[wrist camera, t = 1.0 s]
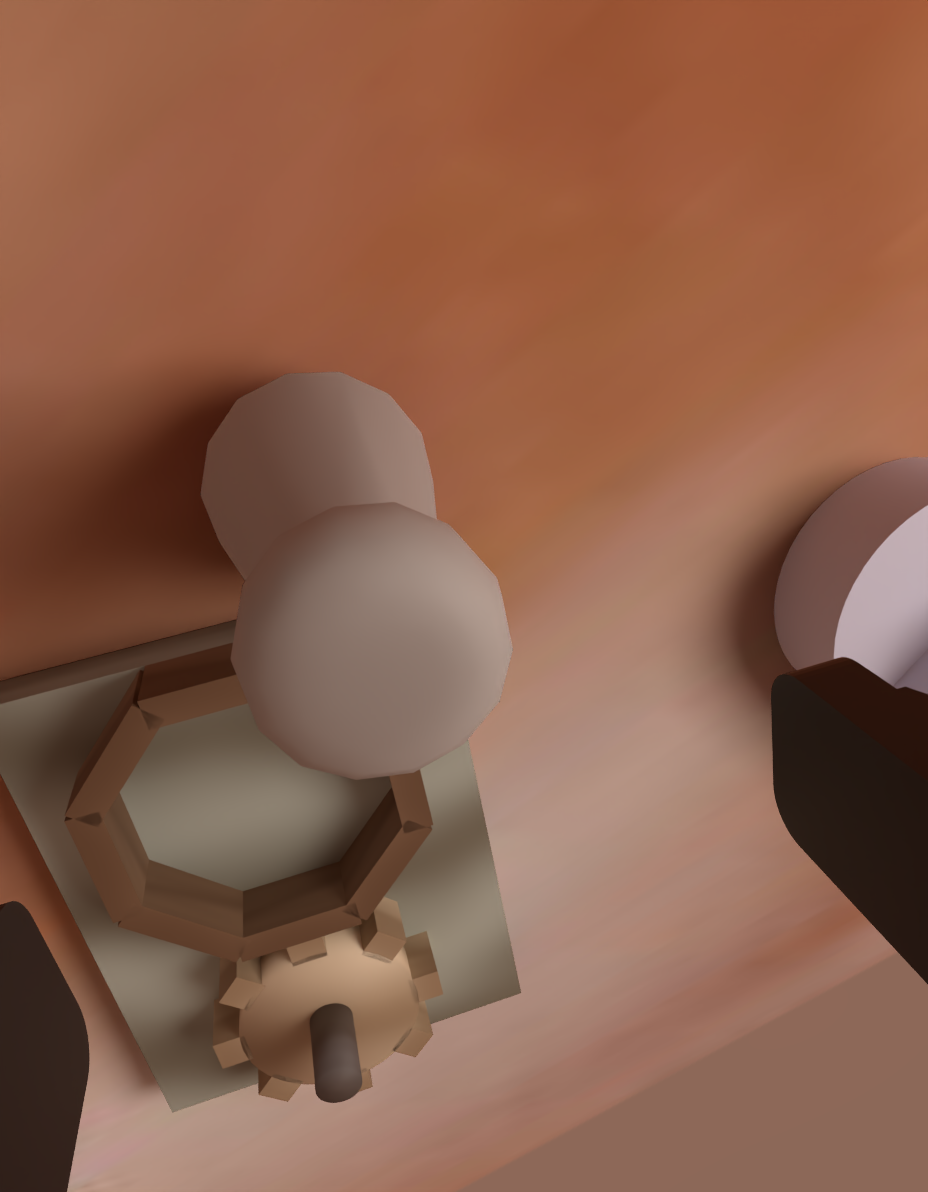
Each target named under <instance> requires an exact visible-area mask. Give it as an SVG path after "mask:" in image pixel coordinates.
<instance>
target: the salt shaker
mask: <svg viewBox="0 0 928 1192" xmlns="http://www.w3.org/2000/svg"><path fill="white" fill-rule="evenodd" d="M200 495H201V498H202V500H203V503H204V505H205V508H206V510H207V513H208V515H209V518H210V520H211V523H212V525H213V528H214V530H215V533H216V535H217V538H218V540H219V542H220V544H221V545H222V547H223V548H224V550H225V551H226V553H227V554H228V556H229V557H230V559H231V560H232V562H233V563H234V565H235V566H236V568H237V569H238V571H239V572H240V574H241V575H242V577H243V578H244V580H245V582H244V584H243V585H242V591H241V597H240V602H239V609H238V615H237V621H236V628H235V634H234V640H233V646H232V653H231V662H232V665H233V667H234V670H235V672H236V675H237V677H238V680H239V682H240V685H241V687H242V690H243V692H244V694H245V697H246V699H247V702H248V704H249V707H250V709H251V712H252V714H253V717H254V719H255V722H256V724H257V726H258V729H259V731H261V732H262V733H263V734H264V735H265V736H266V737H268V738H269V739H270V740H271V741H272V742H273V743H274V744H276V745H277V746H278V747H279V748H280V749H281V750H283V751H284V752H285V753H286V754H287V755H288V756H290V757H291V758H292V759H293V760H294V761H295V762H297V763H298V764H299V765H300V766H302V767H306V768H310V769H314V770H318V771H322V772H326V773H330V774H334V775H338V776H342V777H346V778H350V779H354V780H360V779H367V778H375V777H383V776H391V775H399V774H407V773H414V772H416V771H417V770H419V769H421V768H423V767H425V766H426V765H428V764H430V763H432V762H433V761H435V760H437V759H439V758H440V757H442V756H444V755H446V754H448V753H449V752H451V751H453V750H455V749H456V748H458V747H460V746H462V745H463V744H464V743H465V742H466V741H467V740H468V739H469V737H470V736H471V735H472V734H473V733H474V731H475V730H476V729H477V728H478V727H479V725H480V724H481V723H482V722H483V721H484V719H485V718H486V717H487V716H488V715H489V714H490V712H491V711H492V710H493V709H494V708H495V706H496V705H497V704H498V703H499V702H500V698H501V694H502V690H503V686H504V682H505V678H506V674H507V670H508V667H509V663H510V659H511V655H512V651H513V648H512V643H511V638H510V633H509V628H508V623H507V618H506V614H505V609H504V604H503V599H502V595H501V591H500V587H499V584H498V580H497V577H496V576H495V575H494V574H493V573H492V572H491V571H490V570H489V568H488V567H487V566H486V565H485V564H484V563H483V562H482V561H481V559H480V558H479V557H478V556H477V555H476V554H475V553H474V552H473V551H472V549H471V548H470V547H469V546H468V545H467V544H466V543H465V542H464V540H463V539H462V538H461V537H460V536H459V535H458V534H457V533H456V532H455V531H454V529H453V528H452V527H451V526H450V525H449V524H447V523H444V522H442V521H440V520H437V517H436V507H435V497H434V487H433V479H432V475H431V471H430V466H429V462H428V458H427V454H426V450H425V445H424V441H423V437H422V433H421V432H420V431H419V430H418V428H417V427H416V426H415V425H414V424H413V422H412V421H411V420H410V419H409V418H408V416H407V415H406V414H405V413H404V412H403V410H402V409H401V408H400V407H399V406H398V404H397V403H396V402H395V401H394V400H393V398H392V397H391V396H390V395H389V394H388V393H385V392H383V391H381V390H379V389H377V388H374V387H372V386H370V385H368V384H366V383H363V382H361V381H359V380H357V379H355V378H352V377H350V376H348V375H346V374H344V373H342V372H321V373H294V374H285V375H283V376H281V377H279V378H277V379H275V380H274V381H272V382H270V383H268V384H266V385H264V386H262V387H260V388H258V389H256V390H254V391H252V392H250V393H248V394H246V395H244V396H243V397H241V398H239V399H237V400H236V402H235V403H234V405H233V406H232V408H231V409H230V411H229V412H228V414H227V415H226V417H225V418H224V420H223V421H222V423H221V424H220V426H219V427H218V429H217V430H216V432H215V433H214V435H213V436H212V438H211V439H210V441H209V442H208V446H207V453H206V460H205V467H204V474H203V481H202V487H201V494H200Z"/></svg>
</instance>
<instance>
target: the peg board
mask: <svg viewBox="0 0 928 1192" xmlns="http://www.w3.org/2000/svg"><path fill="white" fill-rule="evenodd" d="M236 621H237V620H234V621H230V622H226V623H222V624H219V625H215V626H211V627H207V628H203V629H199V630H196V631H192V632H188V633H184V634H180V635H176V636H173V637H169V638H165V639H161V640H157V641H153V642H150V643H146V644H142V645H138V646H134V647H130V648H127V649H123V650H119V651H115V652H111V653H107V654H104V655H100V656H96V657H92V658H88V659H85V660H81V661H77V662H73V663H69V664H65V665H62V666H58V667H54V668H50V669H46V670H42V671H39V672H35V673H31V674H27V675H23V676H19V677H16V678H12V679H8V680H4V681H0V774H1V776H2V778H3V780H4V782H5V784H6V786H7V788H8V790H9V792H10V794H11V796H12V798H13V800H14V802H15V804H16V806H17V808H18V809H19V811H20V813H21V815H22V817H23V819H24V821H25V823H26V825H27V827H28V829H29V831H30V833H31V835H32V837H33V839H34V841H35V843H36V845H37V847H38V849H39V851H40V853H41V855H42V857H43V859H44V861H45V863H46V865H47V867H48V869H49V870H50V872H51V874H52V876H53V878H54V880H55V882H56V884H57V886H58V888H59V890H60V892H61V894H62V896H63V898H64V900H65V902H66V904H67V906H68V908H69V910H70V912H71V914H72V916H73V918H74V920H75V922H76V924H77V926H78V928H79V929H80V931H81V933H82V935H83V937H84V939H85V941H86V943H87V945H88V947H89V949H90V951H91V953H92V955H93V957H94V959H95V961H96V963H97V965H98V967H99V969H100V971H101V973H102V975H103V977H104V979H105V981H106V983H107V985H108V987H109V988H110V990H111V992H112V994H113V996H114V998H115V1000H116V1002H117V1004H118V1006H119V1008H120V1010H121V1012H122V1014H123V1016H124V1018H125V1020H126V1022H127V1024H128V1026H129V1028H130V1030H131V1032H132V1034H133V1036H134V1038H135V1040H136V1042H137V1044H138V1046H139V1047H140V1049H141V1051H142V1053H143V1055H144V1057H145V1059H146V1061H147V1063H148V1065H149V1067H150V1069H151V1071H152V1073H153V1075H154V1077H155V1079H156V1081H157V1083H158V1085H159V1087H160V1089H161V1091H162V1093H163V1095H164V1097H165V1099H166V1101H167V1103H168V1105H169V1107H170V1108H171V1110H172V1112H175V1111H178V1110H181V1109H184V1108H187V1107H190V1106H193V1105H196V1104H199V1103H202V1102H205V1101H207V1100H210V1099H213V1098H216V1097H219V1096H222V1095H225V1094H228V1093H231V1092H234V1091H237V1090H240V1089H242V1088H245V1087H248V1086H251V1085H254V1084H257V1083H258V1088H259V1095H262V1096H266V1097H270V1098H275V1099H279V1100H283V1101H287V1102H288V1101H289V1100H290V1098H291V1097H292V1095H293V1094H294V1093H295V1091H296V1090H297V1089H298V1087H299V1086H300V1085H301V1084H315V1090H316V1094H317V1096H318V1097H319V1098H320V1099H321V1100H323V1101H325V1102H330V1103H337V1102H342V1101H345V1100H348V1099H350V1098H351V1097H353V1096H354V1095H355V1094H356V1093H357V1092H359V1091H362V1090H365V1089H368V1088H371V1087H373V1086H372V1079H371V1073H370V1069H371V1068H373V1067H375V1066H376V1065H378V1064H380V1063H381V1062H383V1061H384V1060H385V1059H387V1058H388V1057H389V1056H390V1055H392V1054H393V1053H394V1052H399V1053H402V1054H406V1055H409V1056H413V1057H416V1056H417V1055H418V1053H419V1052H420V1051H421V1050H422V1048H423V1047H424V1046H425V1044H426V1043H427V1042H428V1041H429V1039H430V1038H431V1037H432V1035H433V1032H432V1028H431V1024H432V1023H435V1022H438V1021H441V1020H444V1019H447V1018H450V1017H452V1016H455V1015H458V1014H461V1013H464V1012H467V1011H470V1010H473V1009H476V1008H479V1007H482V1006H485V1005H487V1004H490V1003H493V1002H496V1001H499V1000H502V999H505V998H508V997H511V996H514V995H517V994H520V993H521V990H520V985H519V981H518V976H517V971H516V966H515V961H514V957H513V952H512V947H511V942H510V938H509V933H508V928H507V923H506V918H505V914H504V909H503V904H502V899H501V895H500V890H499V885H498V880H497V875H496V871H495V866H494V861H493V856H492V852H491V847H490V842H489V837H488V832H487V828H486V823H485V818H484V813H483V809H482V804H481V799H480V794H479V789H478V785H477V780H476V775H475V770H474V766H473V761H472V756H471V751H470V746H469V742H468V740H467V741H466V742H465V743H464V744H463V745H462V746H460V747H458V748H456V749H455V750H453V751H451V752H449V753H448V754H446V755H444V756H442V757H440V758H439V759H437V760H435V761H433V762H432V763H430V764H428V765H426V766H425V767H423V768H421V769H419V770H417V771H416V772H414V773H407V774H399V775H391V776H383V777H375V778H367V779H360V780H354V779H350V778H346V777H342V776H338V775H334V774H330V773H326V772H322V771H318V770H314V769H310V768H306V767H302V766H300V765H299V764H298V763H297V762H295V761H294V760H293V759H292V758H291V757H290V756H288V755H287V754H286V753H285V752H284V751H283V750H281V749H280V748H279V747H278V746H277V745H276V744H274V743H273V742H272V741H271V740H270V739H269V738H268V737H266V736H265V735H264V734H263V733H262V732H261V731H259V729H258V726H257V724H256V722H255V719H254V717H253V714H252V712H251V709H250V707H249V704H248V702H247V699H246V697H245V694H244V692H243V690H242V687H241V685H240V682H239V680H238V677H237V675H236V672H235V670H234V667H233V665H232V662H231V653H232V646H233V640H234V634H235V628H236Z"/></svg>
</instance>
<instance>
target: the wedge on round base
mask: <svg viewBox="0 0 928 1192" xmlns="http://www.w3.org/2000/svg"><path fill="white" fill-rule="evenodd" d="M774 619H775V629H776V633H777V637H778V641H779V644H780V646H781V648H782V650H783V653H784V655H785V656H786V658H787V659H788V661H789V662H790V664H791V665H792V666H793V667H794V668H795V669H796V670H799V669H802V668H806V667H809V666H812V665H816V664H819V663H823V662H826V661H829V660H833V659H836V658H840V657H847V658H850V659H853V660H855V661H856V662H858V663H859V664H861V665H862V666H864V667H865V668H867V669H868V670H870V671H871V672H873V673H874V674H876V675H877V676H879V677H880V678H882V679H883V680H885V681H886V682H888V683H889V684H891V685H892V686H893V687H895V688H896V689H898V688H902V687H908V688H911V689H914V690H917V691H920V692H923V693H926V694H928V458H927V457H912V458H904V459H898V460H894V461H891V462H887V463H883V464H881V465H879V466H876V467H874V468H871V469H869V470H867V471H865V472H863V473H861V474H860V475H858V476H856V477H854V478H853V479H851V480H850V481H848V482H847V483H846V484H844V485H843V486H841V487H840V488H839V489H837V490H836V491H835V492H834V493H833V494H832V495H831V496H830V497H828V498H827V499H826V500H825V501H824V502H823V503H822V504H821V505H820V506H819V507H818V509H817V510H816V511H815V512H814V513H813V514H812V515H811V516H810V518H809V519H808V520H807V522H806V523H805V525H804V526H803V527H802V529H801V530H800V532H799V533H798V535H797V537H796V538H795V540H794V542H793V544H792V545H791V547H790V549H789V551H788V554H787V556H786V558H785V561H784V563H783V565H782V569H781V572H780V575H779V579H778V582H777V588H776V593H775V602H774Z"/></svg>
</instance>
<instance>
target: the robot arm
mask: <svg viewBox="0 0 928 1192" xmlns="http://www.w3.org/2000/svg"><path fill="white" fill-rule="evenodd" d="M771 707H772V746H773V785H774V794H775V799H776V803H777V807H778V809H779V812H780V815H781V817H782V820H783V822H784V824H785V826H786V828H787V829H788V831H789V833H790V834H791V836H792V837H793V839H794V840H795V841H796V843H797V844H798V845H799V846H800V847H801V848H802V849H803V850H804V851H805V853H806V854H807V855H808V856H809V857H810V858H811V859H812V860H813V861H814V862H815V863H816V864H817V865H818V867H819V868H820V869H821V870H822V871H823V872H824V873H825V874H826V875H827V876H828V877H829V878H830V879H831V881H832V882H833V883H834V884H835V885H836V886H837V887H838V888H839V889H840V890H841V891H842V892H843V893H844V895H845V896H846V897H847V898H848V899H849V900H850V901H851V902H852V903H853V904H854V905H855V906H856V907H857V909H858V910H859V911H860V912H861V913H862V914H863V915H864V916H865V917H866V918H867V919H868V920H869V921H870V923H871V924H872V925H873V926H874V927H875V928H876V929H877V930H878V931H879V932H880V933H881V934H882V935H883V937H884V938H885V939H886V940H887V941H888V942H889V943H890V944H891V945H892V946H893V947H894V948H895V949H896V951H897V952H898V953H899V954H900V955H901V956H902V957H903V958H904V959H905V960H906V961H907V962H908V963H909V964H910V966H911V967H912V968H913V969H914V970H915V971H916V972H917V973H918V974H919V975H920V976H921V977H922V978H923V980H924V981H925V982H926V983H927V984H928V694H926V693H923V692H920V691H917V690H914V689H911V688H908V687H902V688H898V689H896V688H895V687H893V686H892V685H891V684H889V683H888V682H886V681H885V680H883V679H882V678H880V677H879V676H877V675H876V674H874V673H873V672H871V671H870V670H868V669H867V668H865V667H864V666H862V665H861V664H859V663H858V662H856V661H855V660H853V659H850V658H847V657H840V658H836V659H833V660H829V661H826V662H823V663H819V664H816V665H812V666H809V667H806V668H802V669H799V670H796V671H792V672H789V673H786V674H782V675H780V676H778V677H777V678H776V679H775V681H774V683H773V686H772V691H771ZM88 1073H89V1043H88V1035H87V1030H86V1025H85V1021H84V1018H83V1015H82V1012H81V1009H80V1007H79V1005H78V1003H77V1001H76V999H75V997H74V995H73V993H72V992H71V990H70V988H69V986H68V984H67V982H66V980H65V978H64V976H63V975H62V973H61V971H60V969H59V967H58V965H57V963H56V961H55V959H54V958H53V956H52V954H51V952H50V950H49V948H48V946H47V944H46V942H45V940H44V939H43V937H42V935H41V933H40V931H39V929H38V927H37V925H36V923H35V922H34V920H33V918H32V916H31V914H30V913H29V911H28V910H27V909H26V908H25V907H24V906H23V905H22V904H21V903H19V902H16V901H11V902H8V903H5V904H1V905H0V1192H67V1188H68V1183H69V1177H70V1172H71V1166H72V1161H73V1156H74V1150H75V1145H76V1139H77V1134H78V1129H79V1123H80V1118H81V1112H82V1107H83V1102H84V1096H85V1091H86V1085H87V1080H88Z"/></svg>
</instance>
